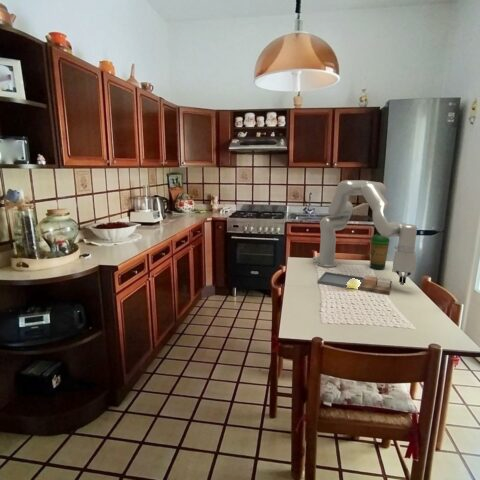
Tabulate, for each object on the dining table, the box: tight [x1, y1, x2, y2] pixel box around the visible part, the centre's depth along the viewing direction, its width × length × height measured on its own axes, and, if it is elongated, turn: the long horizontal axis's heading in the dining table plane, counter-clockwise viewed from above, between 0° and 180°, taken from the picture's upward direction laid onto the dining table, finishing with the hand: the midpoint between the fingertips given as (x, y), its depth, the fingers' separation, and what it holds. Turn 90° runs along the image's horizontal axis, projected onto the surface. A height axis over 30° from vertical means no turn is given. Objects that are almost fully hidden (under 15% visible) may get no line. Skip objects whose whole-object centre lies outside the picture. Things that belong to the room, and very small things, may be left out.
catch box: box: [316, 271, 365, 291], centre depth 188 cm, size 22×18×2 cm
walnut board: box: [359, 276, 393, 296], centre depth 180 cm, size 14×18×2 cm
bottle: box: [369, 229, 390, 271], centre depth 212 cm, size 11×11×28 cm
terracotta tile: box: [364, 275, 378, 285], centre depth 181 cm, size 6×6×2 cm
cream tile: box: [377, 277, 392, 287], centre depth 178 cm, size 6×6×2 cm
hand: (402, 284), depth 174 cm, fingers closed
